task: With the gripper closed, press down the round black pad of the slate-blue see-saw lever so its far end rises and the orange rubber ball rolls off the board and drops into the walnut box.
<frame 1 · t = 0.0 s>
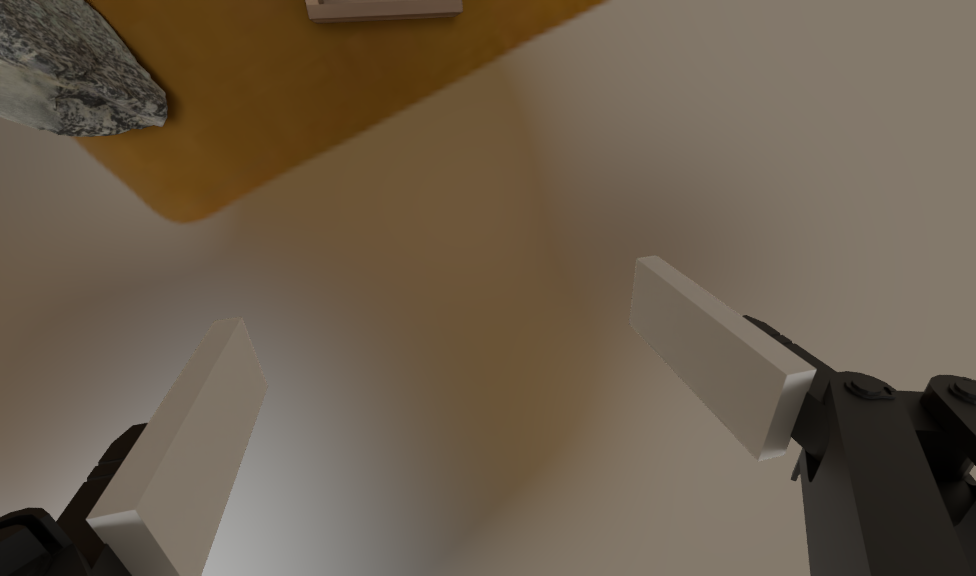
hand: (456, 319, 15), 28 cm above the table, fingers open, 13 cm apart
stone: (81, 59, 31), on the table
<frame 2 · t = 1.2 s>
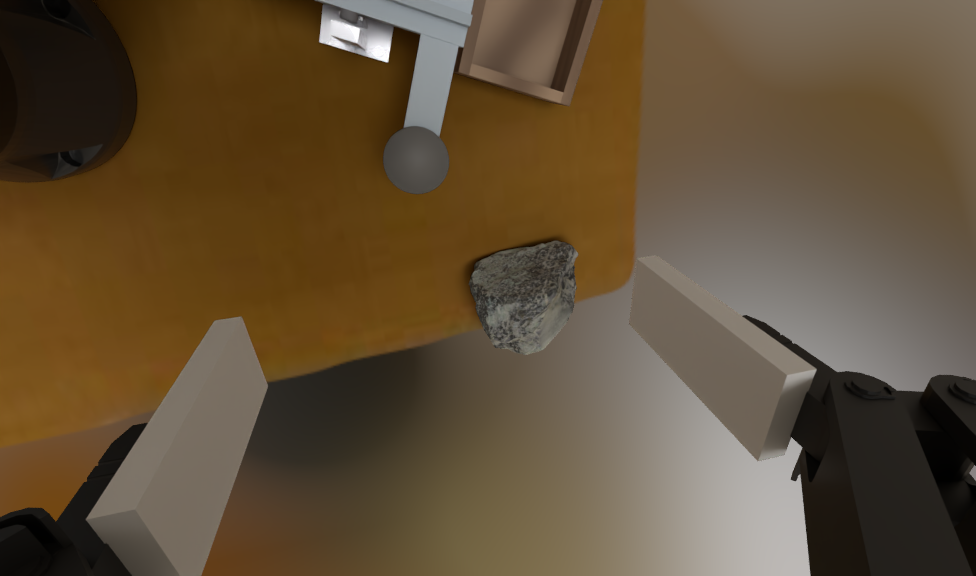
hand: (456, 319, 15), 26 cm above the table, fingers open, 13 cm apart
stone: (513, 277, 45), on the table
tray: (522, 17, 34), on the table
seesaw: (352, 22, 25), point 9 cm above the table, hinge at 0.0°, touching ball
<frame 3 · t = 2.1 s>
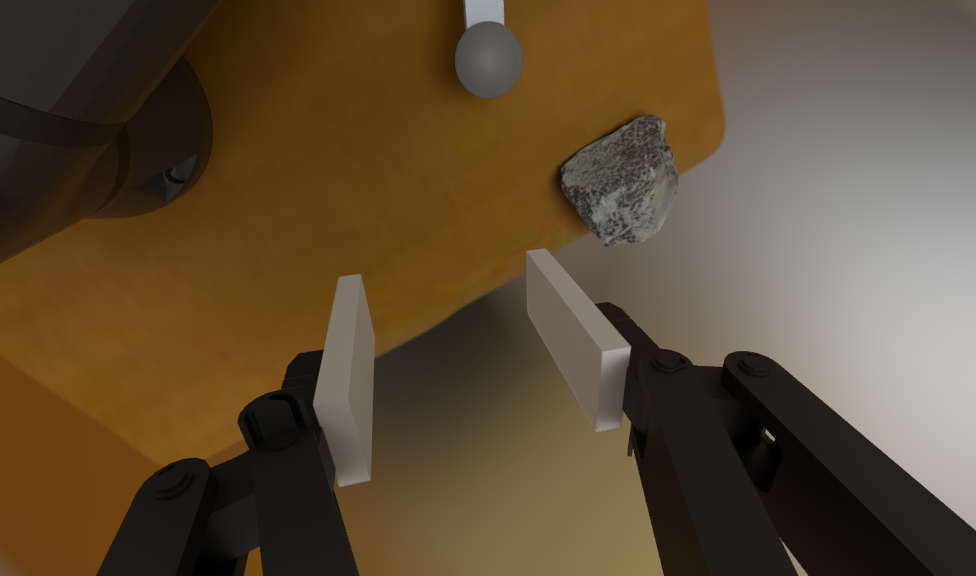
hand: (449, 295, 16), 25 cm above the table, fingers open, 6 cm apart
stone: (601, 174, 43), on the table
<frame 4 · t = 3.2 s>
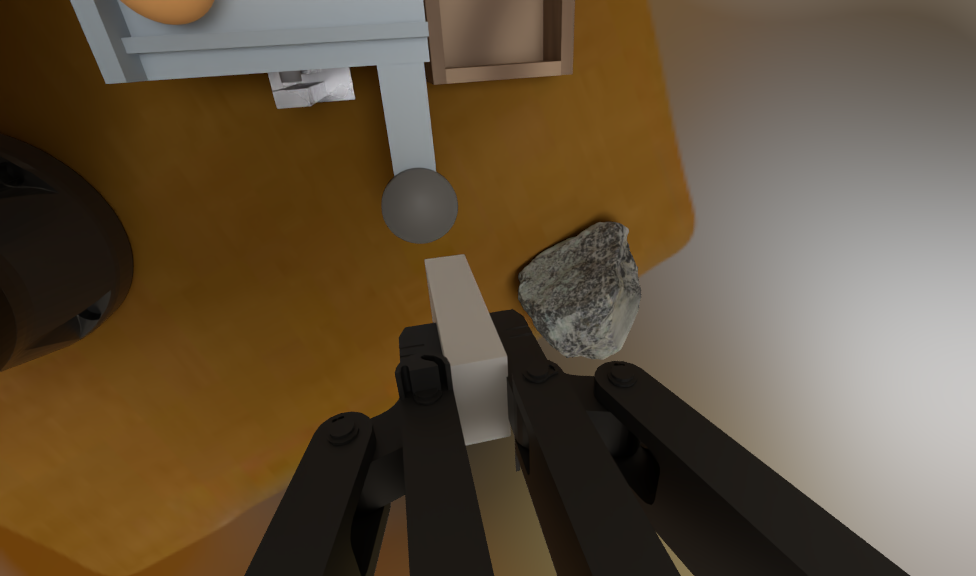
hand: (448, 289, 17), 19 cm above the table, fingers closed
stone: (563, 273, 40), on the table
seesaw: (296, 84, 21), point 9 cm above the table, hinge at 0.0°, touching ball
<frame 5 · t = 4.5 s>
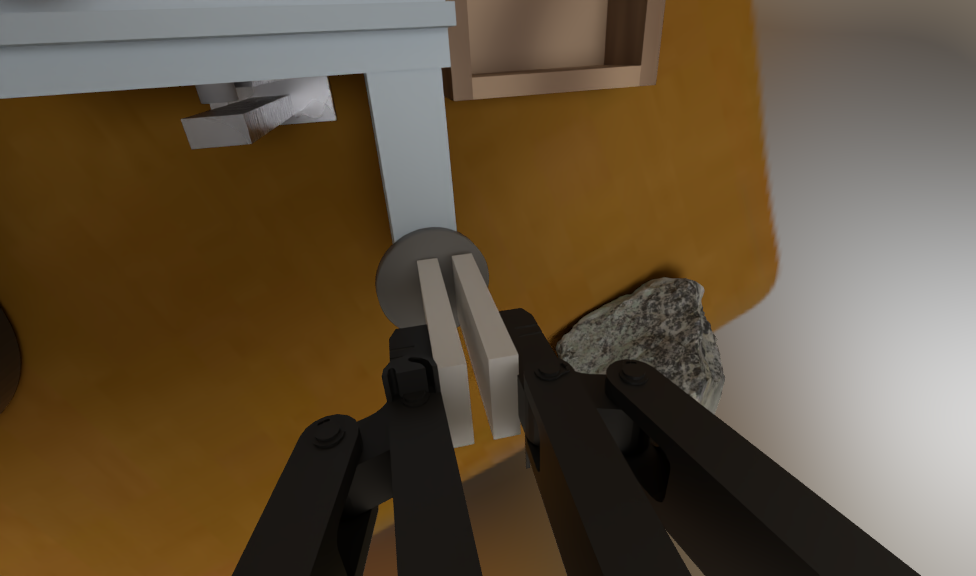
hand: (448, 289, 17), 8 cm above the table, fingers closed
stone: (611, 338, 31), on the table
seesaw: (229, 107, 12), point 8 cm above the table, hinge at 6.8°, touching ball, gripper
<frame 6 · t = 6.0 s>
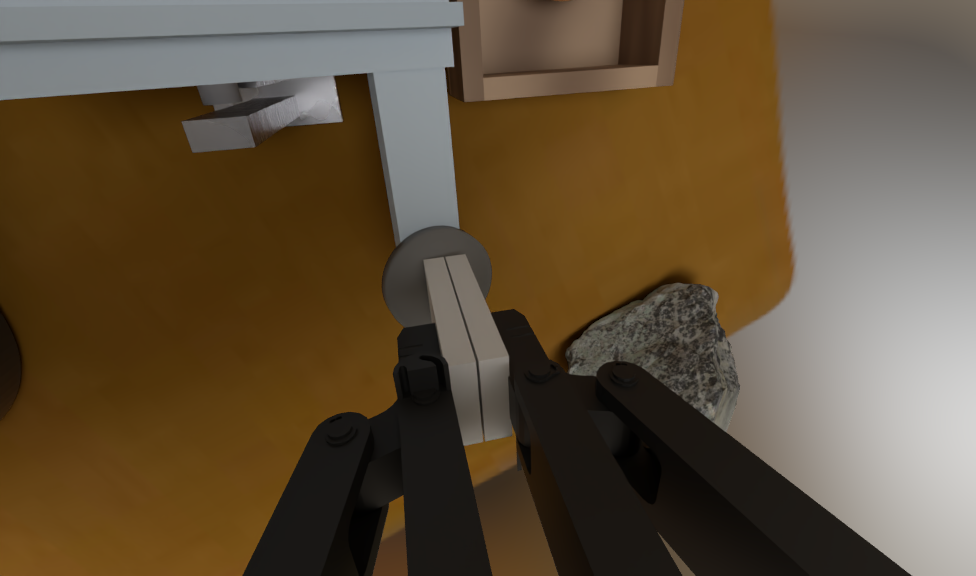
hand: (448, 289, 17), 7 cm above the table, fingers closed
stone: (621, 344, 30), on the table
seesaw: (238, 108, 12), point 8 cm above the table, hinge at 15.0°, touching gripper
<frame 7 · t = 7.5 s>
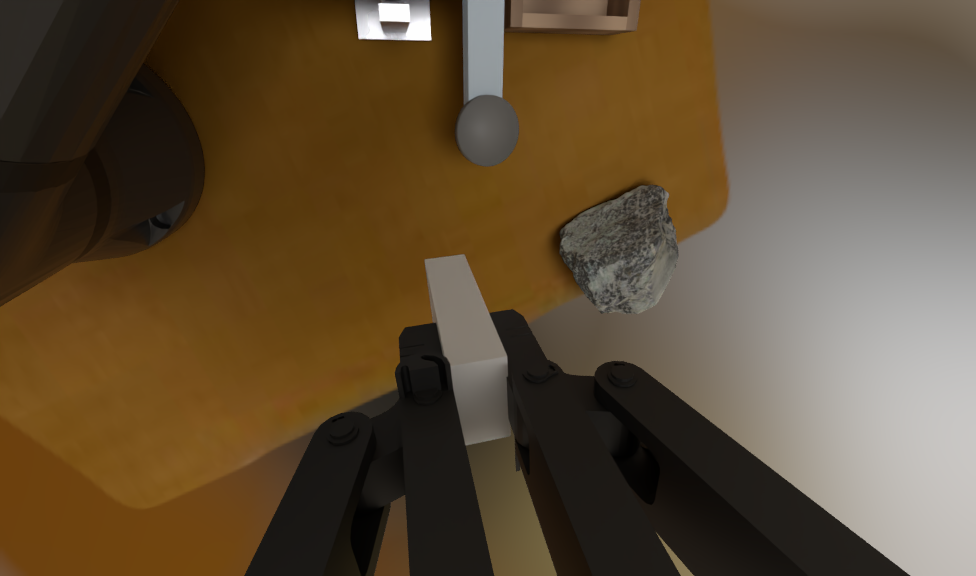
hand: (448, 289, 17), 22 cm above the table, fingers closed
stone: (601, 236, 42), on the table
seesaw: (404, 0, 23), point 8 cm above the table, hinge at 15.0°
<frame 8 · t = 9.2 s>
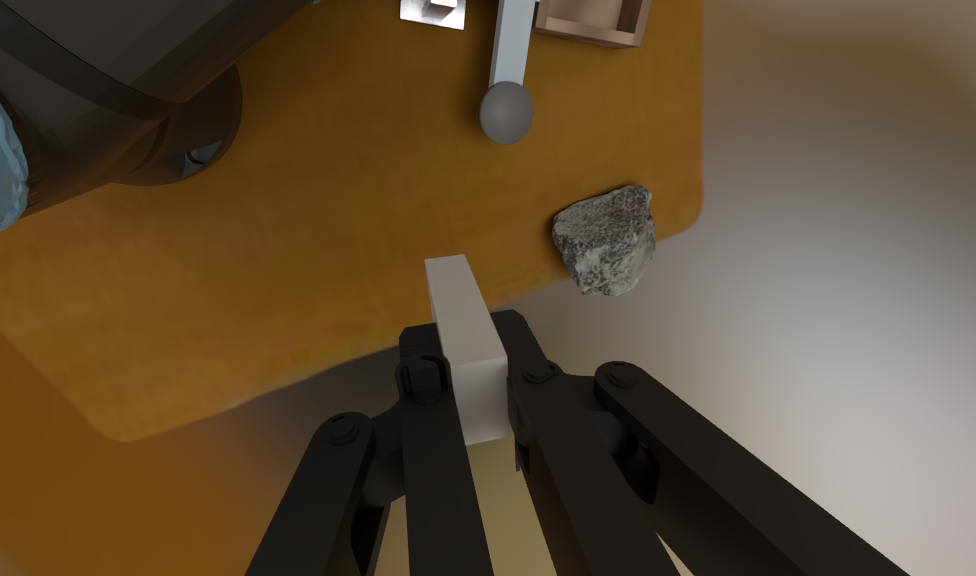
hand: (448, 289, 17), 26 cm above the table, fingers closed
stone: (588, 228, 46), on the table
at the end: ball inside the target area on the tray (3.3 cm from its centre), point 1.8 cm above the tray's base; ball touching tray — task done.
